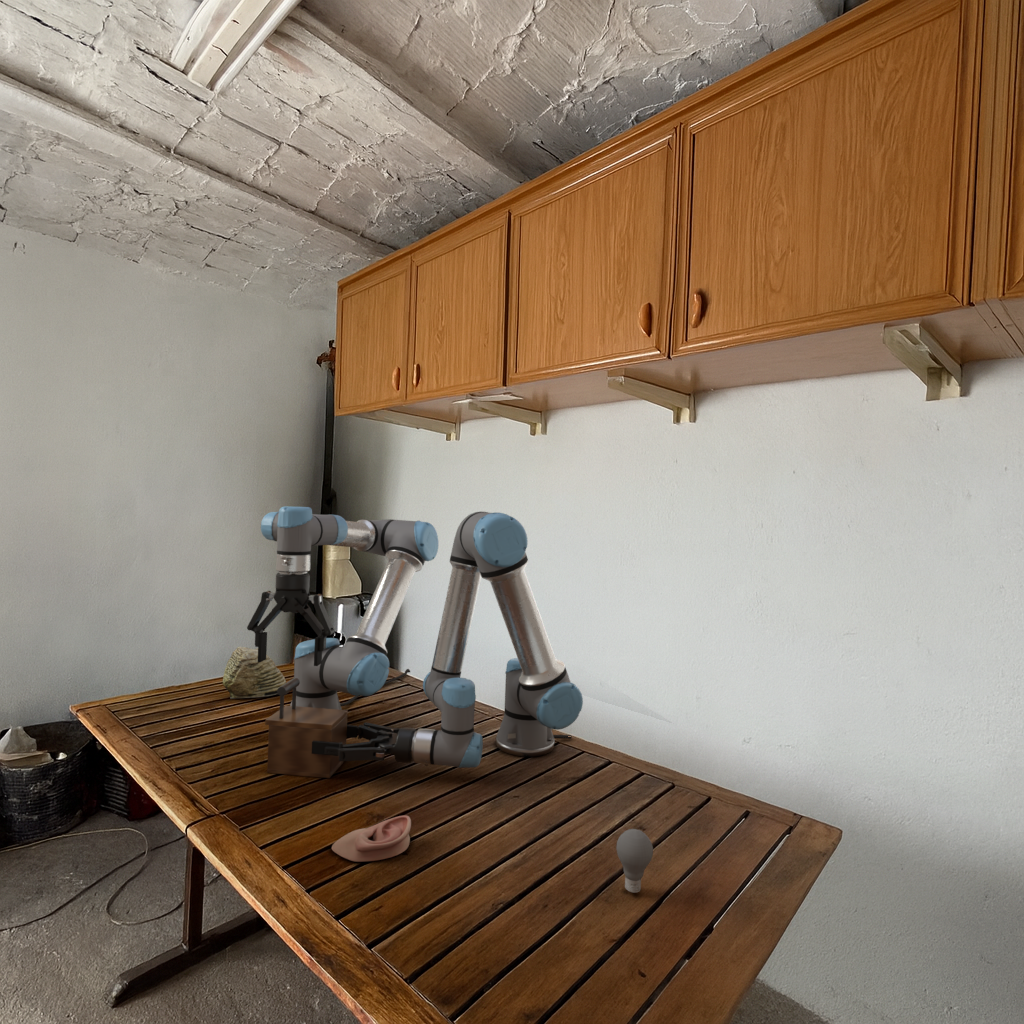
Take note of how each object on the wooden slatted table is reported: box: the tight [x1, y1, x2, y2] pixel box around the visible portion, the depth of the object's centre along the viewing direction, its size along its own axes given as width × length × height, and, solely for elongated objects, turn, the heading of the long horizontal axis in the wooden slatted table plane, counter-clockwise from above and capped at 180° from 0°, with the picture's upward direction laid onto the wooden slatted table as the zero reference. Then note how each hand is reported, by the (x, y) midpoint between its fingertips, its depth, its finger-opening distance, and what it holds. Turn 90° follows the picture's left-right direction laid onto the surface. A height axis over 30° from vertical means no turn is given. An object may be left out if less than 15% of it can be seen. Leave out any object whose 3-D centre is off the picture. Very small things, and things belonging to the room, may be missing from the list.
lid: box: [264, 677, 349, 730], centre depth 148 cm, size 16×10×8 cm, turn 85°
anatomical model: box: [331, 814, 412, 863], centre depth 116 cm, size 13×4×12 cm
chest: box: [266, 715, 348, 779], centre depth 148 cm, size 15×10×11 cm
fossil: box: [222, 646, 287, 699], centre depth 198 cm, size 9×18×15 cm, turn 132°
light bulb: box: [615, 828, 654, 894], centre depth 106 cm, size 6×6×10 cm
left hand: (289, 662), depth 148 cm, fingers open, 13 cm apart
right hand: (321, 738), depth 148 cm, fingers closed on chest, 10 cm apart
